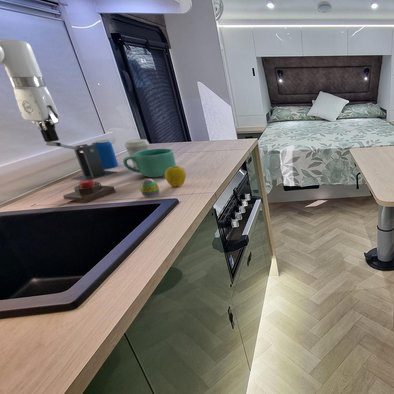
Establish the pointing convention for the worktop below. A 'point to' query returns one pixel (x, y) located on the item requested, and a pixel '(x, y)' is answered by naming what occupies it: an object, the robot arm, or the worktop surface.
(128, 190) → the worktop surface
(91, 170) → the toaster bracket
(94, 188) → the button block
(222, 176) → the worktop surface
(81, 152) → the toaster lever
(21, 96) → the robot arm
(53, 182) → the worktop surface
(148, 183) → the egg
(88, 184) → the stop button
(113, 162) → the beverage can
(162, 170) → the mug
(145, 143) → the coffee cup
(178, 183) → the apple
